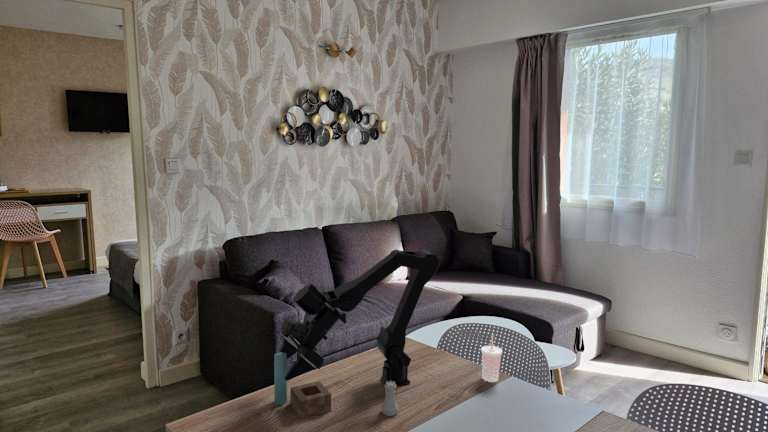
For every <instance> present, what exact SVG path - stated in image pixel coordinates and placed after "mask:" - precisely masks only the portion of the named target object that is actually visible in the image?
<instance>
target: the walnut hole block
mask: <svg viewBox="0 0 768 432" xmlns="http://www.w3.org/2000/svg"><path fill="white" fill-rule="evenodd" d="M290 405H291V406H292V407H293V409H294V411H296V413H297V414H298V416H299V417H300V419H303V418H307V417H311V416H315V415H319V414H324V413H327V412H331V411H332V393H331V392H330V391H329V390H328V389H327V388H326V387H325V385H323V383H322V382H321V381H319V380H318V381H314V382H309V383H304V384H300V385H295V386H290Z"/></svg>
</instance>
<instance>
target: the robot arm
mask: <svg viewBox="0 0 768 432" xmlns="http://www.w3.org/2000/svg"><path fill="white" fill-rule="evenodd" d="M401 267H403V268H404V267H405V268H409V277H408V280H407V284H406V285H405V288H404V290H403V293H402V295H401V298H400V300H399V303H398V305H397V308H396V310H395V312H394V315H393V317H392V319H391V322H390V324H389V325H388V326H386V327H384V326H381V327H380V330H379V333H378V336H377V337H376V338H375V340H376V348H377V350H378V351H379V352H380V353H381V354H382V355H383V357H384V358H385V360H384V361H383V366H382V373H381V374H382V375H381V376H380V379H381V381H383V382H384V383H385V384H386V381H388V382H390V381H391V382H393V381H394V382H395V384H396V386H397V387H400V386H404V385H409V384H411V380H410V379H409V378H408V375H409V373H408V372H409V371H408V370H409V366H410V363H411V361H412V358H411V357H410V356H409V355H408V354H407V353H406V351H404V350H405V346H406V339H407V338H406V333H407V332H406V331H407V329H408V326H409V324H410V322H411V319H412V317H413V315H414V312H415V309H416V307H417V305H418V303H419V300H420V297H421V296H422V292H423V289H424V287H425V286H426V284H428V282H430V280H431V279H433V278H434V276H435V274H436V272H437V271H438V269H439V267H440V261H439V258H438V257H437V255H435V254H433V253H431V252H429V251H427V250H425V249H418V250H417V251H413V250H412V251H411V250H399V249H394V250H391V251H390V252H389V254H387V255H386V256H385V257H384V258H383V259H381V260H380V261H378V262H377V263H376V264H374V265H373V266H372V267H371V268H369V269H368V270H367V271H366V272H365V271H364V273H362V274H361V275H360V276H358V277H357V278H355V279H351V280H349V281H346V282H344V283H343V284H341V285H339V286H337V287H336V288H335V289H333V290H328V291H324V292H321V291H320V290H319V289H318V288H317V287H316V286H315V285H314V284H313V283H312V282H310V283H308V284H307V285H305V286H303V287H302V288H300V289H299V290H298V291H297V292H296V293H295V295H294V296H293V299H292V302H293V303H294V304H295V305H296V306H297V307H298V308H300V309H301V310H302V311H303V312H304V313H306V314H307V316H313V317H312V318H311V319H310V320H308V319H306V320H304V321H303V322H299V321H297V320H294V319H290V318H288V317H285V318H284V320H283V322H282V324H281V327H280V330H281V331H280V333H281V334H282V335H280V338H281V346H280V349H279V351H278V353H281V352H282V353H286V354H287V360H288V359H289V358H292V356H293V355H296V360H295V362H294V363H293V365H292V366H291V367H290V369H289V370H288V371H287V375H286V376H285V378H284V379H285V380H286V381H287V382H288V381H289V382H290V380H293V379H295V378H297V377H299V376H301V375H303V374H305V373H308V372H310V371H313V370H314V371H315V370H317V369H318V370H320V369H321V368H322V367H323V366H324V365H325V358H324V357H323V356H322V355H321V354H320V353H319V352H317V351H318V349H317V346H318V345H319V344H320V343H321V342H322V341H323V340H324V341H327V339H328V338H329V337H328V336H327V335H328V334H329V332H330V331H331V330H332V328H333V327H335V325H336V324H337V322H339V321H340V322H342V323H343V324H347V319H346V318H347V313H349V312H352V311H353V310H355V309H356V308H357V306H359V305H360V303H362V301H363V299H364V298H365V296H367V293H368V292H370V291H371V290H372V289H373V288H375V287H376V286H377V285H378V284H380V283H382V281H383V280H385V279H386V278H388V277H389V276H390V275H392V274H393V273H394V272H395V271H396V270H398V269H399V268H401ZM338 309H339V310H338ZM299 349H300V350H299Z"/></svg>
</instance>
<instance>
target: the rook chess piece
mask: <svg viewBox="0 0 768 432" xmlns="http://www.w3.org/2000/svg"><path fill="white" fill-rule="evenodd" d="M383 388H384V389H385V391H384V393H385V395H384V397H385V398H384V401H383V402H382V405H381V409H380V412H381V413H382V414H383V416H386V417H395V416H396V415H397V414H398V413H399V405H398V403H397V402H396V393H397V391H396V389H397V388H398V386H396V384H395V382H394V381H393V382H391V381H390V382H388V381H386V383H385V384H384V385H383Z"/></svg>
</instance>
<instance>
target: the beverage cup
mask: <svg viewBox="0 0 768 432" xmlns="http://www.w3.org/2000/svg"><path fill="white" fill-rule="evenodd" d="M480 349H481V351H480V353H481V368H482V369H481V374H482V376H481V377H482V378H481V379H482V380H483V379H484V380H483V381H485V382H487V381H488V383H496V382H498V381H499V377H500V369H501V359H502V355H503V349H502V348H501V347H498V346H495V345H494V332H491V342H490V345H483V346H482V347H481V348H480Z"/></svg>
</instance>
